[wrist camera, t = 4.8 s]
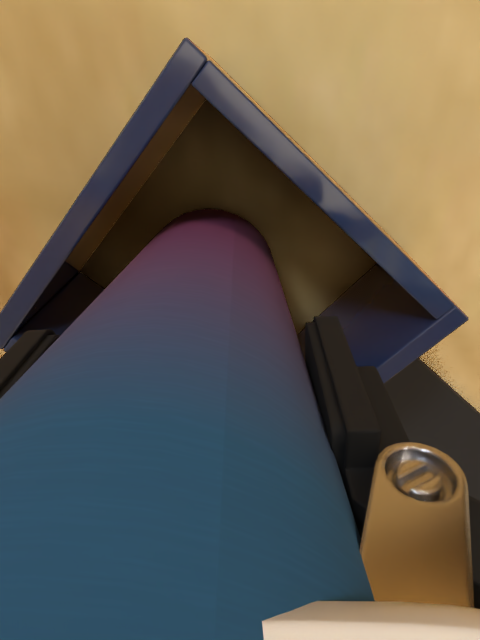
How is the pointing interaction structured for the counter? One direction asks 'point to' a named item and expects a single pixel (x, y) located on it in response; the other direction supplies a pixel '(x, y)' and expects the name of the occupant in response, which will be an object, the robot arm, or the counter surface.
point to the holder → (289, 157)
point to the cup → (173, 457)
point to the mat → (438, 418)
